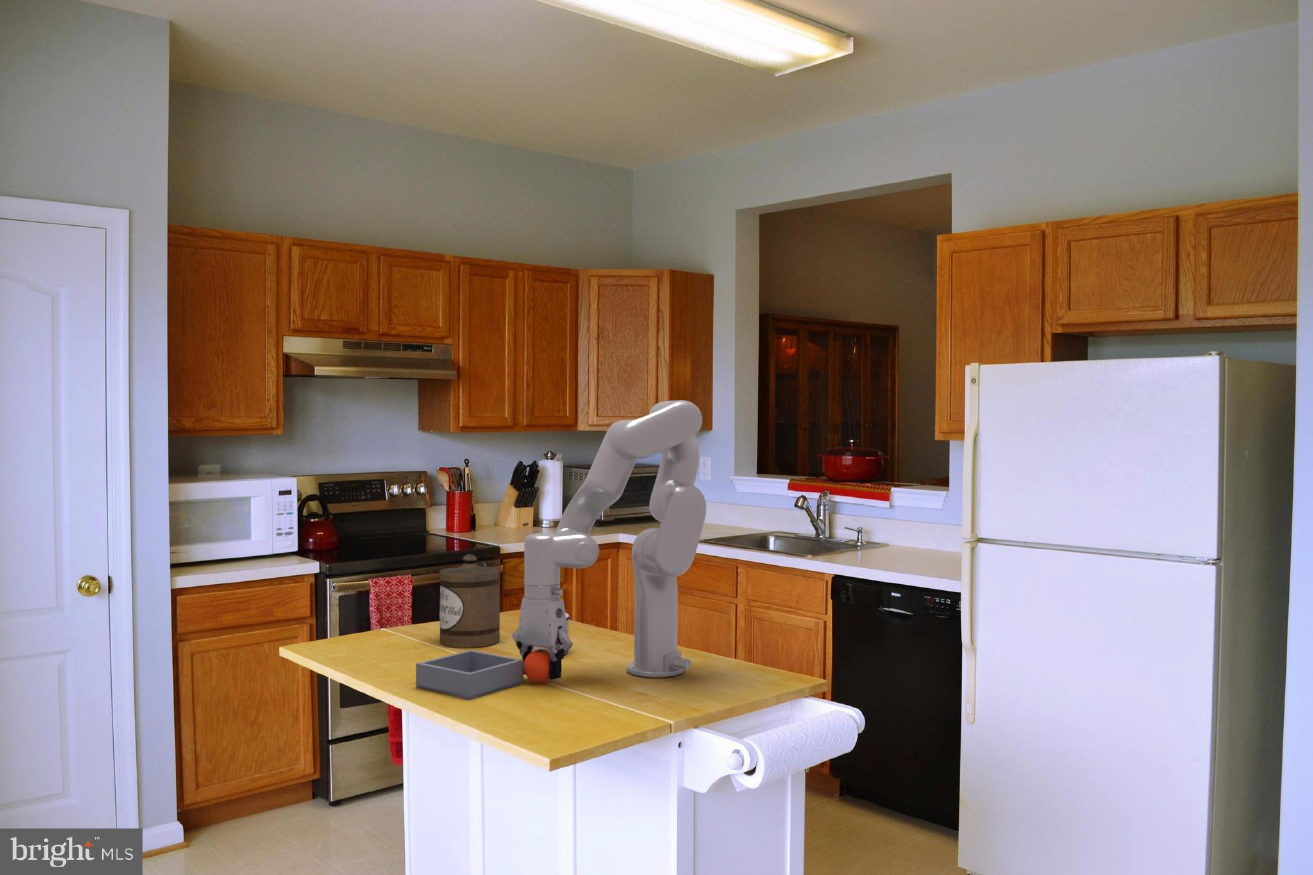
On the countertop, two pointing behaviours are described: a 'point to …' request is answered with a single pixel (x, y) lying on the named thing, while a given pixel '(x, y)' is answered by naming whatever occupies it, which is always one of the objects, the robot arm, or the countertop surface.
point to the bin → (469, 674)
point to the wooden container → (469, 605)
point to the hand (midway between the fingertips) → (541, 675)
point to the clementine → (537, 666)
